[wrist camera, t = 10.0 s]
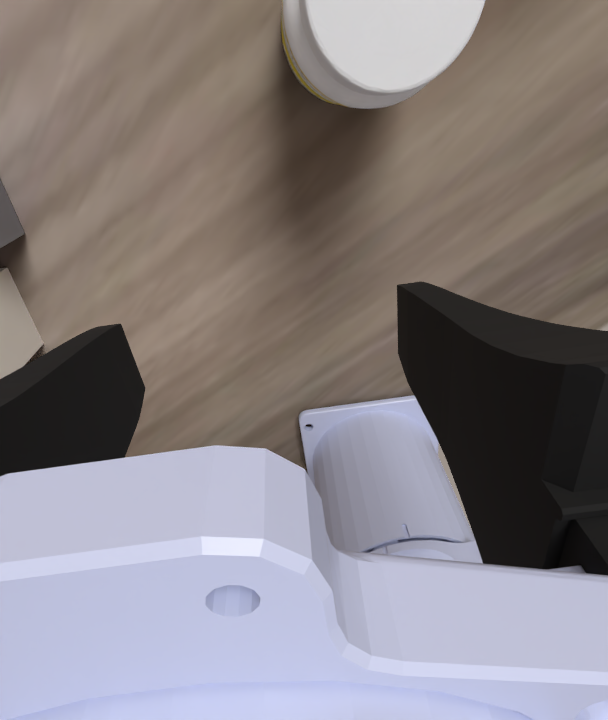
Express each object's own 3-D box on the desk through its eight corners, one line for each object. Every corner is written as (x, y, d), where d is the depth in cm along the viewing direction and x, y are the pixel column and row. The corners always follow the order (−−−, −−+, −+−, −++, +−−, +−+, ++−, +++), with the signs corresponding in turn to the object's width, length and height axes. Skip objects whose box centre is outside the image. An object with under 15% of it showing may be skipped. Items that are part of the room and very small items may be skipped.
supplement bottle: (422, -43, 16) (551, -157, 8) (393, 111, 18) (475, 125, 11) (284, -66, 15) (296, -208, 8) (274, 96, 17) (276, 101, 10)
